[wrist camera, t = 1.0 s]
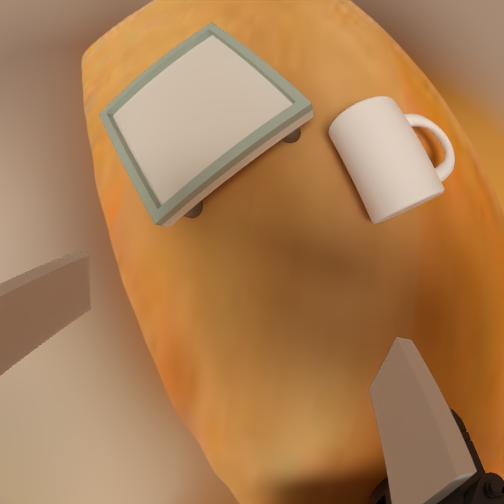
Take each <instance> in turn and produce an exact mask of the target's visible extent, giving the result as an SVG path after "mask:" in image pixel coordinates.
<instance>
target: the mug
mask: <svg viewBox="0 0 504 504" xmlns="http://www.w3.org/2000/svg"><path fill="white" fill-rule="evenodd" d="M413 126H419V127H424V128H426V129H428V130H429V131H430V132H431V133H432V134H433V135H434V136H435V137H436V139H437V140H438V141H439V143H440V145H441V146H442V148H443V150H444V154H445V157H444V160H443V161H442V163H441V164H439V165H438V166H437V167H436V168H434V166H433V164H432V162H431V161H430V159H429V157H428V155H427V153H426V151H425V149H424V148H423V146H422V144H421V142H420V140H419V139H418V137H417V135H416V134H415V132H414V130H413V128H412V127H413ZM329 136H330V138H331V140H332V142H333V144H334V146H335V147H336V149H337V151H338V153H339V155H340V157H341V159H342V160H343V162H344V164H345V166H346V168H347V170H348V172H349V174H350V176H351V178H352V180H353V182H354V184H355V186H356V188H357V190H358V193H359V195H360V197H361V199H362V201H363V203H364V206H365V208H366V210H367V212H368V214H369V217H370V219H371V221H372V223H373V224H378V223H381V222H383V221H386V220H388V219H391V218H393V217H395V216H397V215H400V214H402V213H404V212H406V211H409V210H411V209H413V208H415V207H417V206H419V205H421V204H423V203H425V202H427V201H429V200H431V199H433V198H435V197H436V196H438V195H440V194H442V193H443V192H444V187H443V185H442V183H441V182H442V181H443V180H445V179H446V178H447V177H448V176H449V175H450V174H451V172H452V170H453V168H454V163H455V156H454V151H453V147H452V145H451V142H450V140H449V139H448V137H447V136H446V134H445V133H444V132H443V131H442V130H441V129H440V128H439V127H438V126H437V125H436V124H435V123H433V122H432V121H431V120H429V119H427V118H425V117H423V116H421V115H418V114H411V113H406V114H403V113H402V111H401V109H400V108H399V106H398V105H397V103H396V102H395V101H394V100H393V99H392V98H390V97H387V96H376V97H371V98H368V99H365V100H362V101H360V102H358V103H356V104H354V105H352V106H350V107H349V108H347V109H346V110H344V111H343V112H342V113H341V114H339V115H338V116H337V117H336V118H335V120H334V121H333V122H332V124H331V125H330V128H329Z"/></svg>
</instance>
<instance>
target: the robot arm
mask: <svg viewBox="0 0 504 504" xmlns="http://www.w3.org/2000/svg"><path fill="white" fill-rule="evenodd" d="M89 277H90V275H89V254H86V253H83V252H80V251H75V252H73V253H70V254H68V255H65V256H63V257H61V258H58V259H56V260H53V261H51V262H49V263H46V264H44V265H41V266H39V267H37V268H34V269H32V270H30V271H28V272H25V273H23V274H21V275H19V276H16V277H14V278H12V279H10V280H8V281H6V282H4V283H1V284H0V375H2V374H3V373H4V372H5V371H7V370H8V369H9V368H11V367H12V366H13V365H14V364H16V363H17V362H18V361H20V360H21V359H22V358H24V357H25V356H26V355H28V354H29V353H30V352H31V351H33V350H34V349H36V348H37V347H38V346H39V345H41V344H42V343H44V342H45V341H46V340H48V339H49V338H50V337H52V336H53V335H54V334H56V333H57V332H59V331H60V330H61V329H63V328H64V327H66V326H67V325H68V324H70V323H71V322H73V321H74V320H76V319H77V318H79V317H80V316H81V315H83V314H84V313H85V312H87V311H89V310H90V309H91V304H90V278H89ZM369 391H370V395H371V399H372V403H373V408H374V412H375V416H376V421H377V425H378V430H379V434H380V439H381V444H382V449H383V454H384V459H385V465H386V470H387V476H388V477H387V478H386V479H385V480H383V481H382V482H381V483H380V484H379V485H378V487H377V488H376V489H375V490H374V492H373V493H372V495H371V498H370V504H504V481H503V479H502V478H501V477H500V476H499V475H497V474H495V473H485V471H484V469H483V466H482V464H481V461H480V459H479V457H478V454H477V452H476V450H475V447H474V445H473V443H472V441H470V439H471V438H470V436H469V434H468V432H466V428H465V426H464V424H463V422H462V419H461V418H460V417H459V416H458V415H457V414H456V413H455V412H454V411H453V409H451V410H450V409H449V407H448V405H447V403H446V401H445V399H444V397H443V395H442V393H441V391H440V389H439V387H438V385H437V383H436V382H435V380H434V378H433V376H432V374H431V372H430V371H429V369H428V367H427V365H426V363H425V362H424V360H423V358H422V356H421V355H420V353H419V351H418V349H417V348H416V346H415V344H414V343H413V341H412V340H411V339H406V338H400V337H396V338H395V340H394V342H393V345H392V347H391V349H390V351H389V353H388V355H387V356H386V358H385V360H384V362H383V364H382V366H381V368H380V370H379V372H378V373H377V375H376V377H375V379H374V380H373V382H372V384H371V386H370V387H369Z"/></svg>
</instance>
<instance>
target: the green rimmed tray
mask: <svg viewBox="0 0 504 504" xmlns="http://www.w3.org/2000/svg"><path fill="white" fill-rule="evenodd" d="M99 116H100V118H101V120H102V122H103V124H104V127H105V129H106V131H107V133H108V135H109V137H110V139H111V141H112V143H113V146H114V148H115V150H116V152H117V154H118V156H119V158H120V160H121V162H122V164H123V166H124V168H125V170H126V172H127V174H128V175H129V177H130V179H131V181H132V183H133V185H134V187H135V189H136V191H137V193H138V194H139V196H140V198H141V200H142V202H143V204H144V206H145V207H146V209H147V211H148V213H149V215H150V216H151V218H152V220H153V222H154V224H156V225H161V226H165V227H170V226H172V225H173V224H174V223H175V222H176V221H177V220H179V219H180V218H181V217H182V216H183V215H184V216H187V217H190V218H195V217H197V216H198V215H199V214H200V213H201V211H202V202H201V200H203V199H204V198H205V197H206V196H207V195H209V194H210V193H211V192H212V191H214V190H215V189H216V188H217V187H219V186H220V185H221V184H222V183H224V182H225V181H226V180H228V179H229V178H230V177H231V176H233V175H234V174H235V173H237V172H238V171H239V170H240V169H242V168H243V167H244V166H246V165H247V164H248V163H250V162H251V161H252V160H254V159H255V158H256V157H258V156H259V155H260V154H262V153H263V152H265V151H266V150H267V149H269V148H270V147H271V146H273V145H274V144H276V143H277V142H278V141H280V140H281V139H282V140H283V141H284V142H286V143H293V142H296V141H297V140H298V139H299V138H300V135H301V132H300V126H301V125H303V124H304V123H306V122H307V121H309V120H310V119H312V118H313V109H312V103H311V102H310V101H309V100H308V99H307V98H306V97H305V96H304V95H303V94H302V93H300V92H299V91H298V90H297V89H296V88H295V87H294V86H293V85H292V84H291V83H290V82H288V81H287V80H286V79H285V78H284V77H283V76H282V75H280V74H279V73H278V72H277V71H276V70H275V69H273V68H272V67H271V66H270V65H269V64H267V63H266V62H265V61H264V60H263V59H261V58H260V57H259V56H258V55H256V54H255V53H254V52H252V51H251V50H250V49H249V48H247V47H246V46H245V45H243V44H242V43H241V42H239V41H238V40H237V39H235V38H234V37H232V36H231V35H230V34H228V33H227V32H225V31H224V30H222V29H221V28H220V27H218V26H217V25H215V24H214V23H210V24H209V25H207V26H205V27H204V28H202V29H201V30H199V31H198V32H196V33H195V34H193V35H192V36H190V37H189V38H187V39H186V40H184V41H183V42H182V43H180V44H179V45H177V46H176V47H175V48H173V49H172V50H171V51H169V52H168V53H167V54H165V55H164V56H163V57H161V58H160V59H159V60H158V61H156V62H155V63H154V64H153V65H151V66H150V67H149V68H148V69H147V70H145V71H144V72H143V73H142V74H141V75H140V76H138V77H137V78H136V79H135V80H134V81H133V82H132V83H131V84H129V85H128V86H127V87H126V88H125V89H124V90H123V91H122V92H121V93H120V94H119V95H118V96H117V97H116V98H115V99H114V100H113V101H112V102H111V103H110V104H109V105H108V106H107V107H106V108H105V109H104V110H103V111H102V112H101V113H100V114H99Z"/></svg>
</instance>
